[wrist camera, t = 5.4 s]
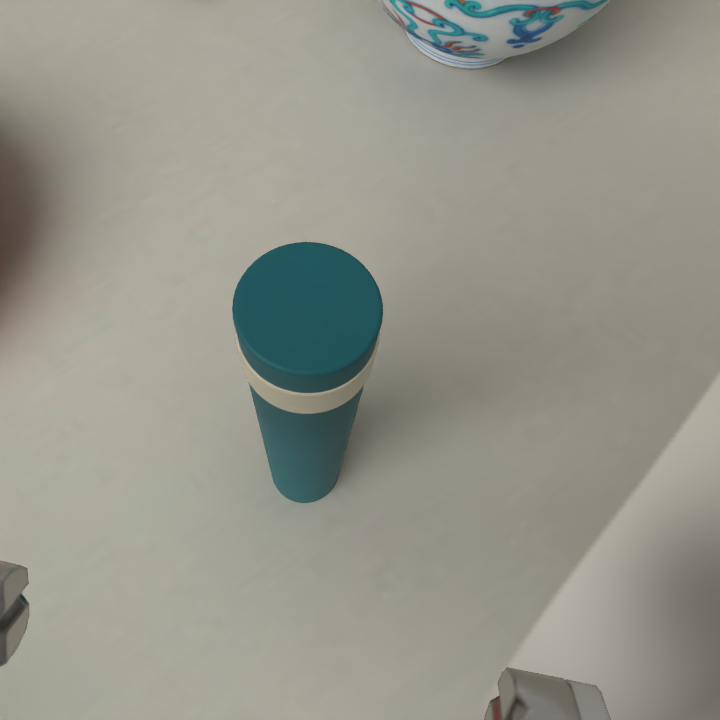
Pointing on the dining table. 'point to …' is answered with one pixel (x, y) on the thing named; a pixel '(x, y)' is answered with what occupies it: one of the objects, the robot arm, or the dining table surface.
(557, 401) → the dining table surface
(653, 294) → the dining table surface
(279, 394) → the teal banded tube
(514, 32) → the chinaware
